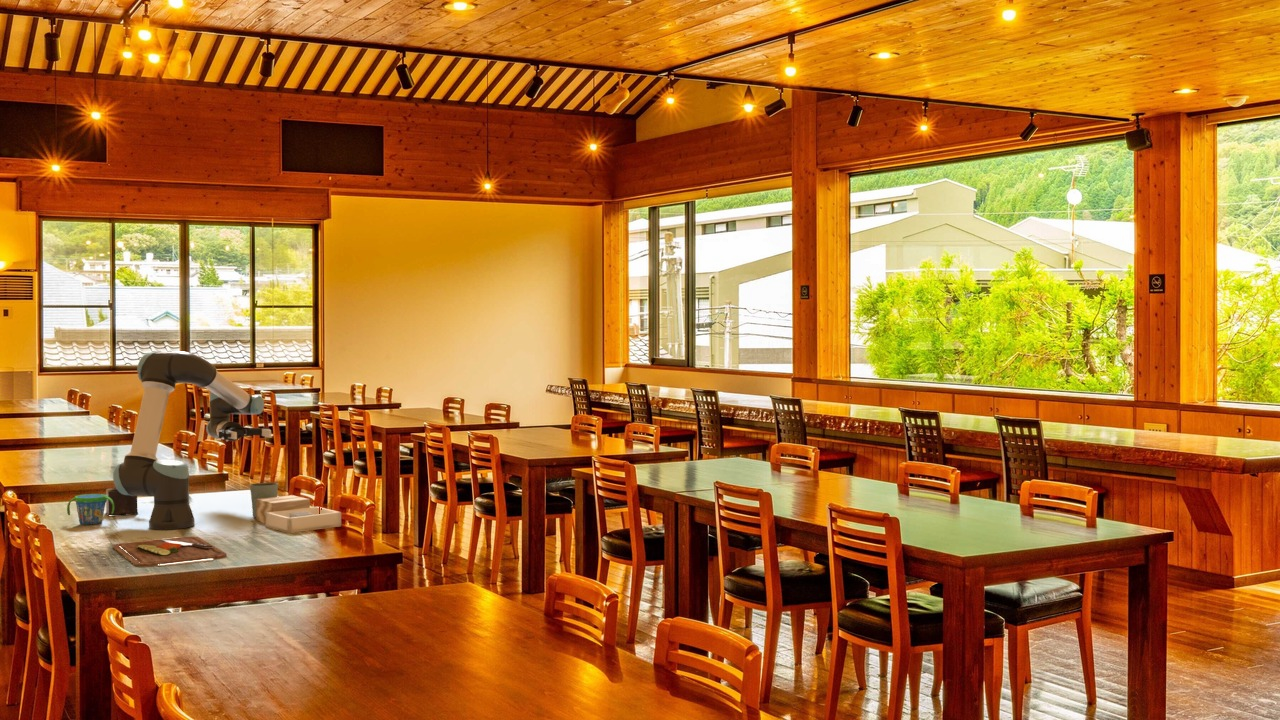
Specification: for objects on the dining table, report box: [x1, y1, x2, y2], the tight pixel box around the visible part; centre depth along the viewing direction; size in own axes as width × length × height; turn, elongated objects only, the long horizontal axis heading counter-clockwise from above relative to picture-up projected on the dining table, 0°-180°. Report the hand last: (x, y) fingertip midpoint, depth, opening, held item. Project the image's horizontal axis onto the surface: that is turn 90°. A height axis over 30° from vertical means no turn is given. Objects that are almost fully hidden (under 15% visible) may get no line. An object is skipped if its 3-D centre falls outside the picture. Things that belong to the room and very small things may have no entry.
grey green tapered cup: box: [249, 482, 279, 518], centre depth 448 cm, size 10×10×12 cm
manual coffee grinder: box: [105, 485, 139, 516], centre depth 455 cm, size 16×11×18 cm
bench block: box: [256, 494, 311, 524], centre depth 436 cm, size 14×14×8 cm
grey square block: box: [289, 512, 313, 518], centre depth 423 cm, size 6×6×4 cm
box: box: [265, 506, 342, 534], centre depth 424 cm, size 18×20×5 cm
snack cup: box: [66, 493, 114, 526], centre depth 431 cm, size 16×10×10 cm
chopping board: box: [112, 536, 227, 567], centre depth 378 cm, size 45×27×3 cm, turn 34°
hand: (253, 434), depth 454 cm, fingers open, 13 cm apart
